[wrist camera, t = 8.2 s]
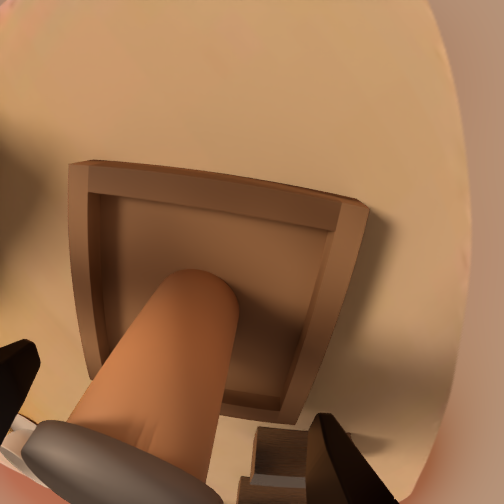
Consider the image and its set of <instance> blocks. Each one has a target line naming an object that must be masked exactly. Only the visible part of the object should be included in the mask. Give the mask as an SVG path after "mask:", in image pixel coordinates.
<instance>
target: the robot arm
mask: <svg viewBox="0 0 504 504" xmlns="http://www.w3.org/2000/svg"><path fill="white" fill-rule="evenodd" d="M40 364H41V362H40V358H39V355H38V351H37V348H36V345H35V344H34V342H32V341H30V340H27V339H22V340H19V341H17V342H14V343H12V344H9V345H6V346H4V347H1V348H0V447H1V445H2V443H3V440H4V438H5V437H6V435H7V433H8V431H9V429H10V427H11V425H12V423H13V421H14V419H15V417H16V416H17V414H18V412H19V410H20V408H21V406H22V405H23V403H24V401H25V399H26V396H27V394H28V392H29V390H30V387H31V385H32V383H33V381H34V379H35V376H36V374H37V372H38V370H39V368H40ZM305 485H306V502H307V504H399V503H398V501H397V500H396V499H394V496H393V495H392V494H391V492H390V491H389V490H388V489H387V487H386V486H385V485H384V483H383V482H382V481H381V479H380V478H379V477H378V475H377V474H376V473H375V471H374V470H373V469H372V467H371V466H370V465H369V463H368V462H367V461H366V459H365V458H364V457H363V455H362V454H361V453H360V451H359V450H358V449H357V447H356V446H355V445H354V443H353V442H352V440H351V439H350V438H349V436H348V435H347V434H346V432H345V431H344V430H343V428H342V427H341V425H340V424H339V423H338V421H337V420H336V418H335V417H334V416H333V415H332V414H331V413H318V414H317V415H316V416H315V418H314V420H313V422H312V424H311V426H310V428H309V431H308V442H307V459H306V474H305Z"/></svg>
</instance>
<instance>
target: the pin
mask: <svg viewBox="0 0 504 504" xmlns="http://www.w3.org/2000/svg"><path fill="white" fill-rule="evenodd" d="M238 319H239V304H238V301H237V298H236V296H235V294H234V292H233V291H232V289H231V288H230V287H229V286H228V284H227V283H226V282H224V281H223V280H222V279H221V278H219V277H218V276H216V275H214V274H212V273H209V272H207V271H203V270H198V269H184V270H180V271H177V272H174V273H172V274H171V275H169V276H168V277H167V278H165V279H164V281H163V282H162V283H161V284H160V286H159V287H158V288H157V290H156V291H155V292H154V294H153V295H152V296H151V298H150V299H149V301H148V302H147V303H146V305H145V306H144V307H143V309H142V310H141V312H140V313H139V314H138V316H137V317H136V318H135V320H134V321H133V323H132V324H131V325H130V327H129V328H128V330H127V331H126V333H125V334H124V335H123V337H122V338H121V340H120V341H119V343H118V344H117V345H116V347H115V348H114V350H113V351H112V353H111V354H110V356H109V357H108V359H107V360H106V361H105V363H104V364H103V366H102V367H101V369H100V370H99V372H98V373H97V375H96V376H95V378H94V379H93V381H92V382H91V384H90V385H89V387H88V388H87V390H86V392H85V393H84V395H83V396H82V398H81V399H80V401H79V402H78V404H77V406H76V407H75V409H74V410H73V412H72V413H71V415H70V417H69V418H68V420H67V421H66V422H63V421H57V420H46V421H42V422H40V423H39V424H38V425H37V427H36V428H35V430H34V431H33V433H32V434H31V436H30V437H29V439H28V440H27V442H26V443H25V445H24V446H23V448H22V450H21V456H22V459H23V461H24V462H25V464H26V465H27V466H28V468H29V469H30V470H31V471H32V472H33V474H34V475H35V476H36V477H37V478H38V479H39V480H40V481H42V482H43V483H44V484H45V485H46V486H47V487H48V488H50V489H51V490H52V491H53V492H55V493H56V494H57V495H59V496H60V497H62V498H63V499H64V500H66V501H68V502H69V503H71V504H224V503H223V500H222V499H221V497H220V496H219V495H218V494H217V493H216V492H215V491H214V490H213V489H212V488H210V487H209V486H208V485H206V484H205V483H206V478H207V473H208V468H209V463H210V458H211V453H212V448H213V443H214V438H215V433H216V428H217V424H218V419H219V414H220V409H221V404H222V399H223V394H224V389H225V384H226V379H227V374H228V369H229V364H230V359H231V354H232V349H233V344H234V339H235V334H236V329H237V324H238Z"/></svg>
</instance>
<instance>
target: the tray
mask: <svg viewBox="0 0 504 504" xmlns="http://www.w3.org/2000/svg"><path fill="white" fill-rule="evenodd" d="M369 210H370V209H369V208H368V207H367V206H365V205H364V204H363V203H361V202H360V201H359V200H357V199H355V198H350V197H346V196H341V195H337V194H332V193H328V192H323V191H318V190H313V189H308V188H303V187H298V186H293V185H287V184H282V183H276V182H271V181H265V180H259V179H253V178H247V177H241V176H235V175H228V174H221V173H214V172H207V171H200V170H192V169H185V168H176V167H168V166H159V165H149V164H139V163H129V162H117V161H104V160H89V161H83V162H78V163H72V164H69V174H68V230H69V249H70V262H71V273H72V283H73V291H74V299H75V306H76V313H77V319H78V325H79V331H80V336H81V341H82V346H83V351H84V356H85V361H86V365H87V369H88V373H89V377H90V380H93V379H94V378H95V376H96V375H97V373H98V372H99V370H100V369H101V367H102V366H103V364H104V363H105V361H106V360H107V359H108V357H109V356H110V354H111V353H112V351H113V350H114V348H115V347H116V345H117V344H118V343H119V341H120V340H121V338H122V337H123V335H124V334H125V333H126V331H127V330H128V328H129V327H130V325H131V324H132V323H133V321H134V320H135V318H136V317H137V316H138V314H139V313H140V312H141V310H142V309H143V307H144V306H145V305H146V303H147V302H148V301H149V299H150V298H151V296H152V295H153V294H154V292H155V291H156V290H157V288H158V287H159V286H160V284H161V283H162V282H163V281H164V279H165V278H167V277H168V276H169V275H171V274H172V273H174V272H177V271H180V270H184V269H198V270H203V271H207V272H209V273H212V274H214V275H216V276H218V277H219V278H221V279H222V280H223V281H224V282H226V283H227V284H228V286H229V287H230V288H231V289H232V291H233V292H234V294H235V296H236V298H237V301H238V304H239V319H238V324H237V329H236V334H235V339H234V344H233V349H232V354H231V359H230V364H229V369H228V374H227V379H226V384H225V389H224V394H223V399H222V404H221V409H220V414H219V415H223V416H228V417H234V418H241V419H247V420H254V421H262V422H270V423H279V424H289V425H295V424H296V422H297V420H298V417H299V415H300V413H301V411H302V408H303V406H304V404H305V402H306V399H307V397H308V395H309V392H310V390H311V387H312V385H313V383H314V380H315V378H316V375H317V373H318V370H319V368H320V365H321V362H322V360H323V357H324V355H325V352H326V349H327V347H328V344H329V341H330V339H331V336H332V333H333V330H334V327H335V325H336V322H337V319H338V316H339V313H340V310H341V307H342V304H343V301H344V298H345V295H346V292H347V289H348V285H349V282H350V279H351V276H352V272H353V269H354V266H355V262H356V259H357V255H358V252H359V248H360V245H361V241H362V237H363V234H364V230H365V226H366V222H367V218H368V214H369Z"/></svg>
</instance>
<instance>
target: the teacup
mask: <svg viewBox="0 0 504 504" xmlns="http://www.w3.org/2000/svg"><path fill="white" fill-rule="evenodd" d="M36 427H37V425H35V424H34V423H32V422H31V421H29V420H28V419H26V418H24V417H22V416H21V415H19V414H17V416H16V417H15V419H14V421H13V423H12V425H11V428H12V429H13V431H14V432H11V433H10V434H8V435H7V436H6V437H5V438H4V440H3V443H2V445H1V447H0V452H1V453H2V454H3V456H4V457H5V458H6V459H7V460H8V461H9V462H10V463H11V464H12V465H14V466H15V467H16V468H17V469H18V470H19V471H21V472H22V473H23V474H25V475H26V476H27V477H29V478H30V479H32V480H33V481H35V482H37V483H38V484H40V485H42V486H44V487H47V486H46V485H45V484H44V483H43V482H42V481H40V480H39V479H38V478H37V477H36V476H35V475H34V474H33V472H32V471H31V470H30V469H29V468H28V466H27V465H26V464H25V462H24V461H23V459H22V456H21V450H22V448H23V446H24V445H25V443H26V442H27V440H28V439H29V437H30V436H31V434H32V433H33V431H34V430H35V428H36ZM47 488H48V487H47Z"/></svg>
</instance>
